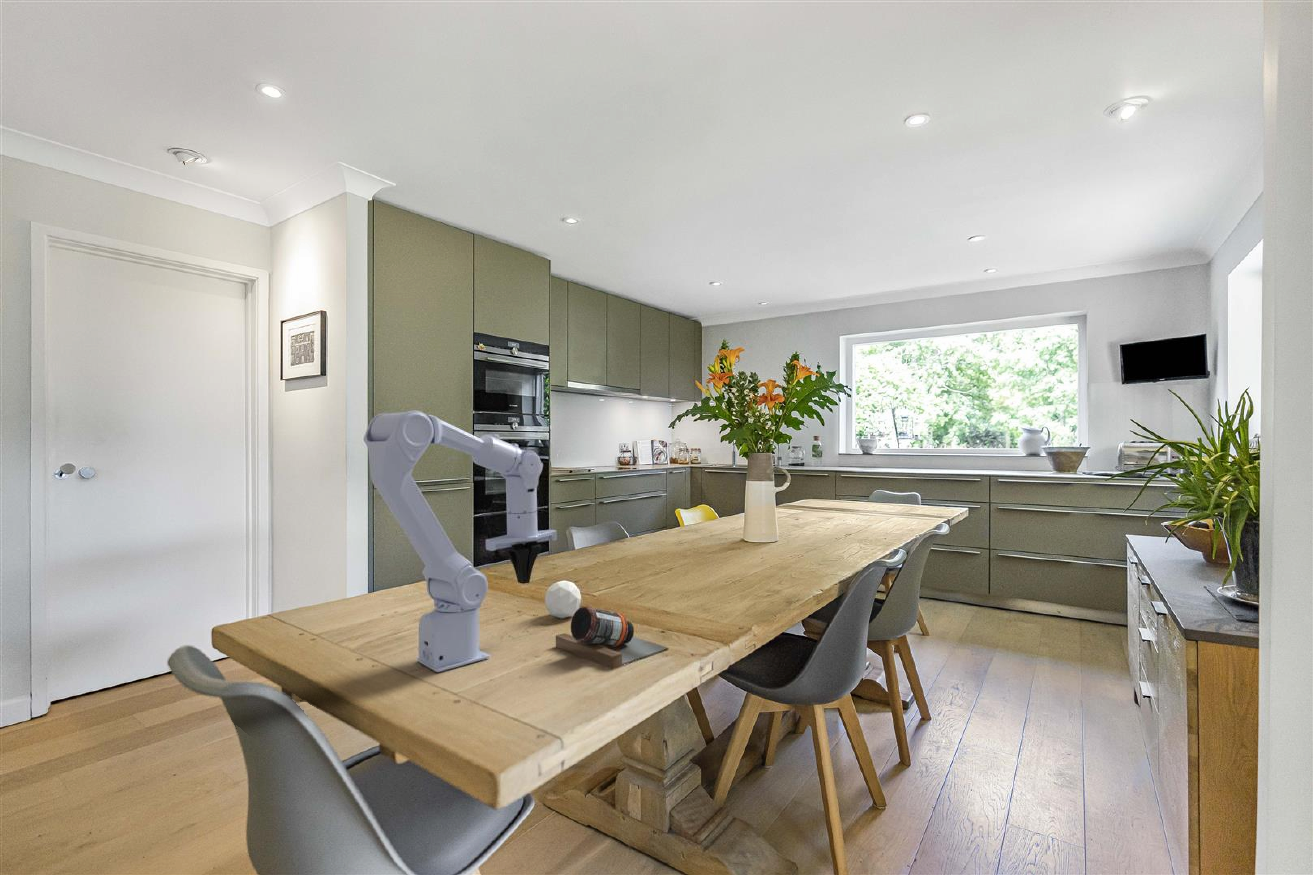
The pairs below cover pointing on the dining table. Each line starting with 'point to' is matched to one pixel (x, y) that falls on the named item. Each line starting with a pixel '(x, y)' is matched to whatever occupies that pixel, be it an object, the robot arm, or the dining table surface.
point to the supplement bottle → (601, 627)
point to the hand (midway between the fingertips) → (523, 582)
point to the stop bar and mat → (609, 650)
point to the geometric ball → (562, 599)
